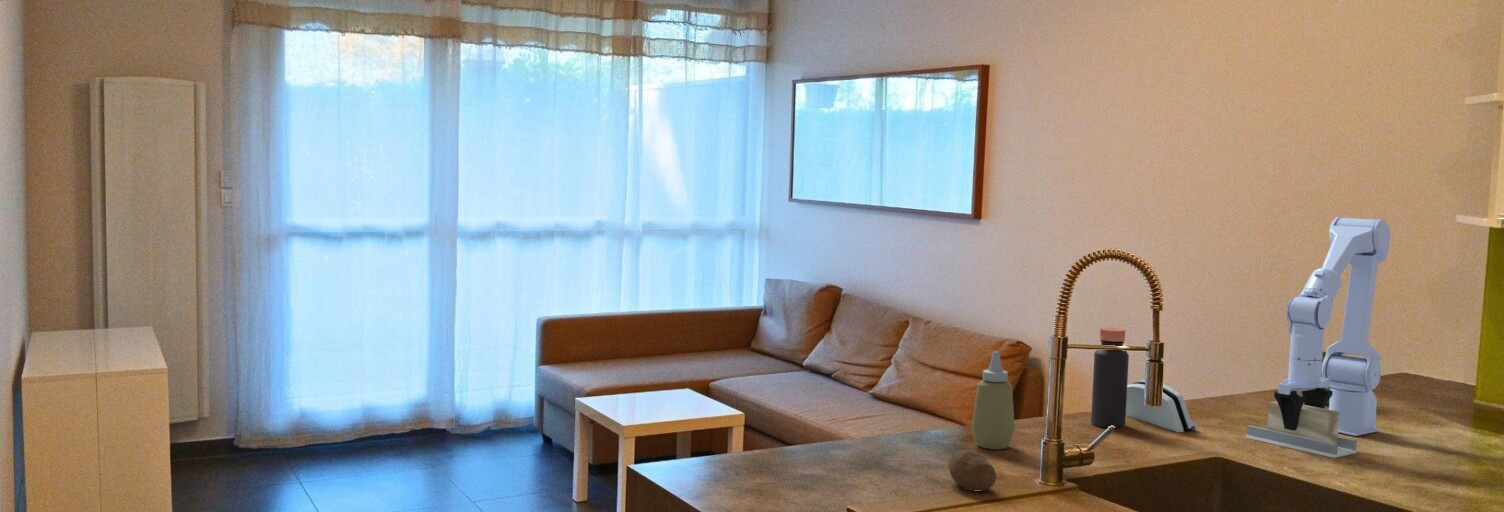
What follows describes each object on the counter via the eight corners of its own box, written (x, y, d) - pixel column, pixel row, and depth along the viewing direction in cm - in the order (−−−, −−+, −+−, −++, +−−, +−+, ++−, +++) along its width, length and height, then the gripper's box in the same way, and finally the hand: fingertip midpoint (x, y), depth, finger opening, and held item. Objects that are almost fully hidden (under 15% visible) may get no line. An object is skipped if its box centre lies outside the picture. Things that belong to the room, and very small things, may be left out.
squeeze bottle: (1018, 444, 221) (1022, 351, 219) (1008, 453, 213) (1013, 357, 212) (976, 439, 224) (980, 347, 222) (965, 448, 217) (969, 353, 215)
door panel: (1278, 434, 232) (1280, 400, 231) (1337, 447, 222) (1339, 411, 221) (1267, 436, 230) (1269, 402, 229) (1325, 450, 220) (1328, 413, 219)
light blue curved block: (1199, 431, 236) (1188, 386, 234) (1181, 440, 234) (1170, 395, 232) (1144, 413, 251) (1134, 371, 249) (1127, 422, 250) (1116, 379, 248)
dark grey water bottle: (1089, 426, 237) (1094, 330, 236) (1092, 420, 244) (1097, 326, 242) (1123, 430, 235) (1128, 332, 233) (1126, 423, 241) (1131, 328, 240)
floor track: (1268, 433, 236) (1269, 421, 236) (1356, 452, 221) (1357, 440, 221) (1245, 437, 231) (1246, 425, 231) (1334, 457, 216) (1334, 445, 216)
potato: (970, 498, 184) (972, 459, 184) (936, 482, 193) (937, 445, 193) (1004, 494, 187) (1006, 456, 187) (968, 478, 196) (970, 442, 196)
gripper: (1304, 364, 217) (1300, 435, 218) (1345, 358, 225) (1341, 427, 227) (1269, 358, 223) (1265, 428, 224) (1311, 353, 231) (1306, 420, 232)
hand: (1301, 427), depth 226 cm, fingers open, 7 cm apart
